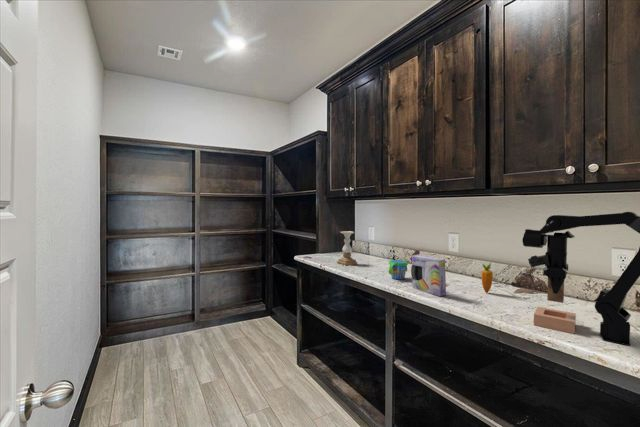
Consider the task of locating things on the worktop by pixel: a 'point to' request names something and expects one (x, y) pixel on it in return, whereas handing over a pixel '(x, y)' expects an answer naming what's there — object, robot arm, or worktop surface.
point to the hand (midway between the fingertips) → (555, 292)
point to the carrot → (487, 277)
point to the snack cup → (398, 269)
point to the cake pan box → (429, 274)
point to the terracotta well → (555, 319)
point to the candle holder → (347, 250)
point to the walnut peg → (555, 297)
